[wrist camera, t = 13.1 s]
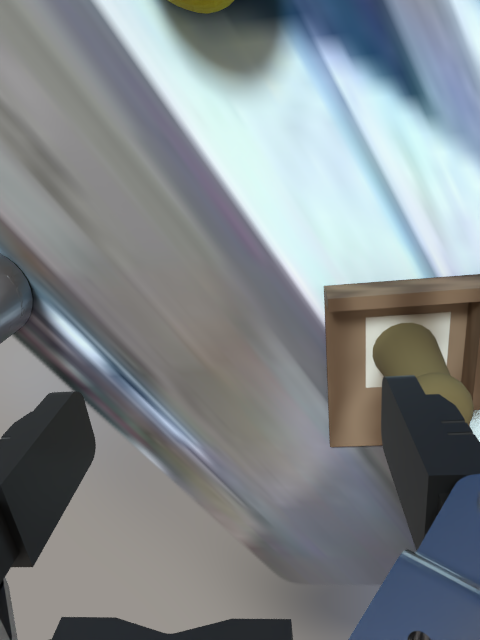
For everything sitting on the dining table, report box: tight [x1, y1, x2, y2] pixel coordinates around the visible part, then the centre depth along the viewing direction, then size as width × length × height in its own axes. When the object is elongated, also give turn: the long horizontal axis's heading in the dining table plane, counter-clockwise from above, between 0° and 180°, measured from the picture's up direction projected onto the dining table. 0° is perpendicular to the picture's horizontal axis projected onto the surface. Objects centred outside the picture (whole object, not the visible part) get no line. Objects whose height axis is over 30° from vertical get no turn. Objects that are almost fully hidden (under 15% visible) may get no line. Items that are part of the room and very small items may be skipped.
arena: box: [324, 274, 480, 447], centre depth 43 cm, size 14×18×4 cm
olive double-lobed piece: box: [373, 323, 474, 425], centre depth 38 cm, size 6×6×11 cm
